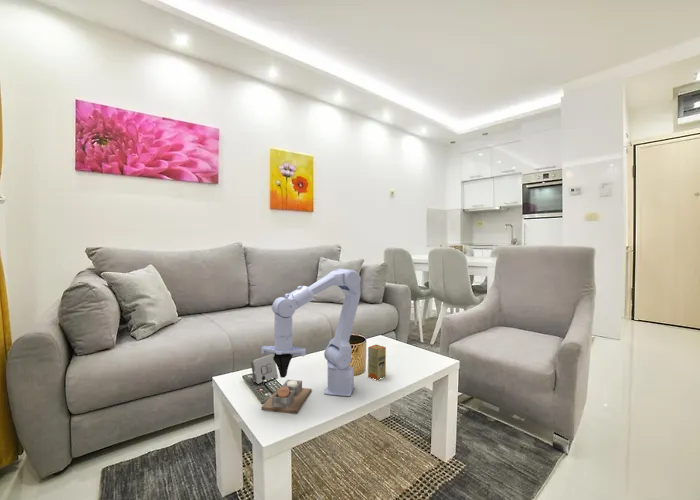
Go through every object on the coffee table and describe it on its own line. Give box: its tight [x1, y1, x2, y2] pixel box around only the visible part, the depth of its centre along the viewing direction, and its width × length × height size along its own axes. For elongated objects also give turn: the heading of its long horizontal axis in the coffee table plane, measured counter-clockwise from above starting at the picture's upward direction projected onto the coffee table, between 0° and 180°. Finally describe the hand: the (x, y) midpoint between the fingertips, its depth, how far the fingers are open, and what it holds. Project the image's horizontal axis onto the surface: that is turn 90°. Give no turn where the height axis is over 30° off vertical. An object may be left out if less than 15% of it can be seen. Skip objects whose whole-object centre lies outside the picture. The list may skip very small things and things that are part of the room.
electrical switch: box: [250, 353, 279, 384], centre depth 121 cm, size 9×5×9 cm, turn 141°
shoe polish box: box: [367, 344, 387, 381], centre depth 124 cm, size 5×5×12 cm
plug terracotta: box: [277, 386, 289, 398], centre depth 101 cm, size 4×4×3 cm
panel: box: [260, 379, 312, 415], centre depth 105 cm, size 12×15×4 cm
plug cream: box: [287, 379, 297, 387], centre depth 109 cm, size 4×4×3 cm
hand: (283, 376), depth 101 cm, fingers closed
